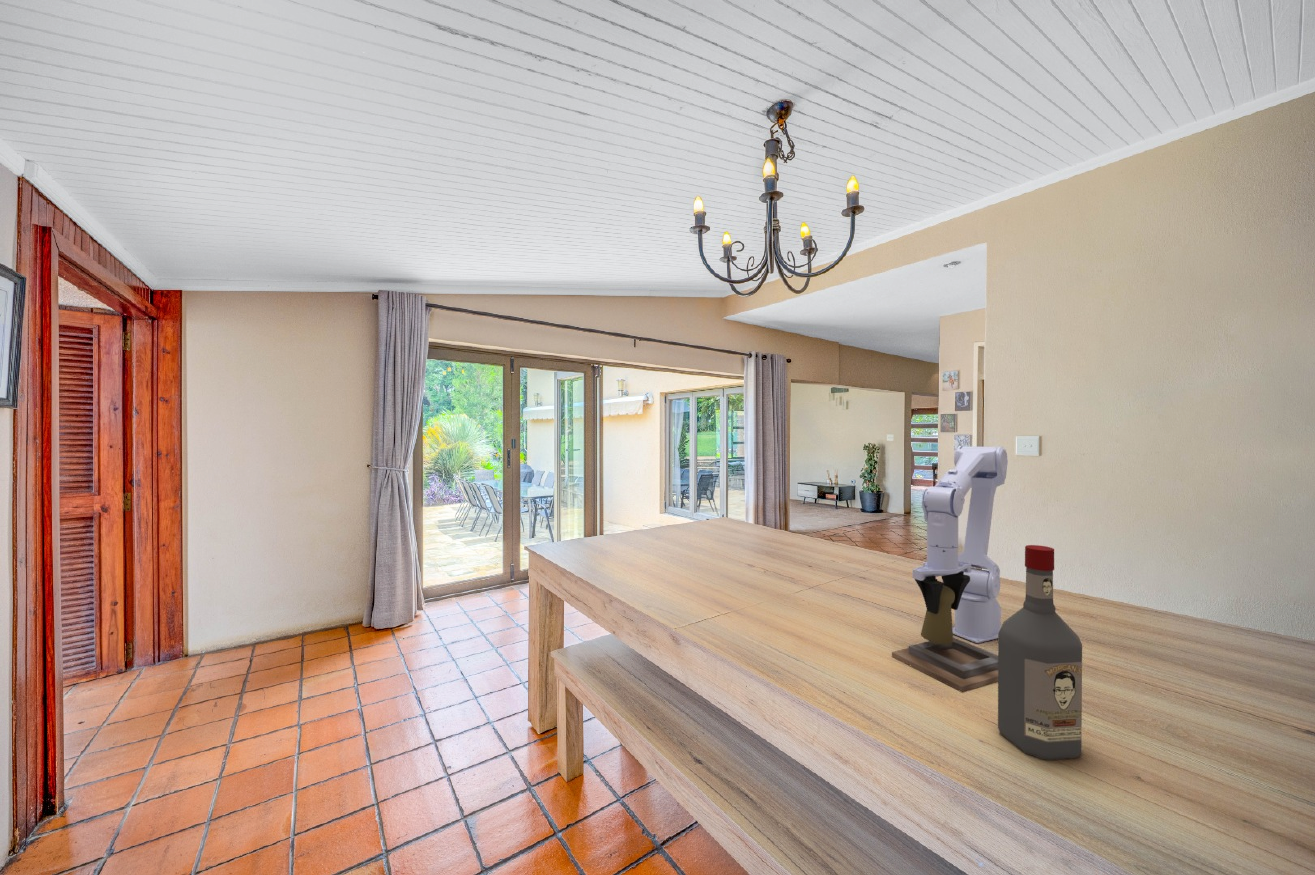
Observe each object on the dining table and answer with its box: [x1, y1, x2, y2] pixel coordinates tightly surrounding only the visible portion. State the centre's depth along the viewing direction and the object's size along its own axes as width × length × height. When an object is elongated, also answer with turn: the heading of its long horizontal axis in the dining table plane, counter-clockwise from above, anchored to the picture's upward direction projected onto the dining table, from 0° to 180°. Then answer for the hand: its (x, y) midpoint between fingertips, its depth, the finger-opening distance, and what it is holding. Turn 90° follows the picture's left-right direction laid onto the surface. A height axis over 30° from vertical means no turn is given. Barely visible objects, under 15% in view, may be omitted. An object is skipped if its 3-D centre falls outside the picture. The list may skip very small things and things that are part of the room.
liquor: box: [997, 544, 1083, 761], centre depth 80 cm, size 9×9×30 cm
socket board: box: [891, 636, 998, 693], centre depth 106 cm, size 18×16×2 cm
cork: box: [920, 586, 955, 644], centre depth 108 cm, size 6×6×11 cm
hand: (942, 610), depth 108 cm, fingers closed on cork, 5 cm apart
